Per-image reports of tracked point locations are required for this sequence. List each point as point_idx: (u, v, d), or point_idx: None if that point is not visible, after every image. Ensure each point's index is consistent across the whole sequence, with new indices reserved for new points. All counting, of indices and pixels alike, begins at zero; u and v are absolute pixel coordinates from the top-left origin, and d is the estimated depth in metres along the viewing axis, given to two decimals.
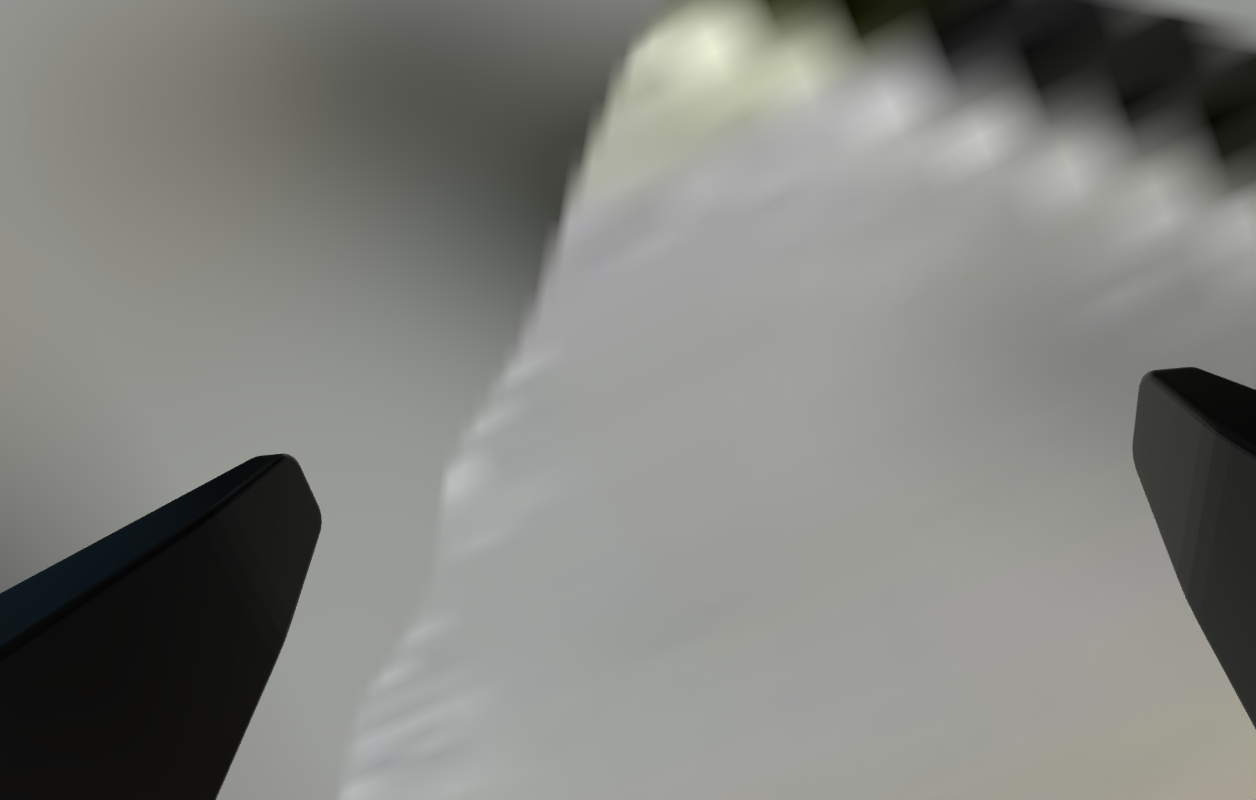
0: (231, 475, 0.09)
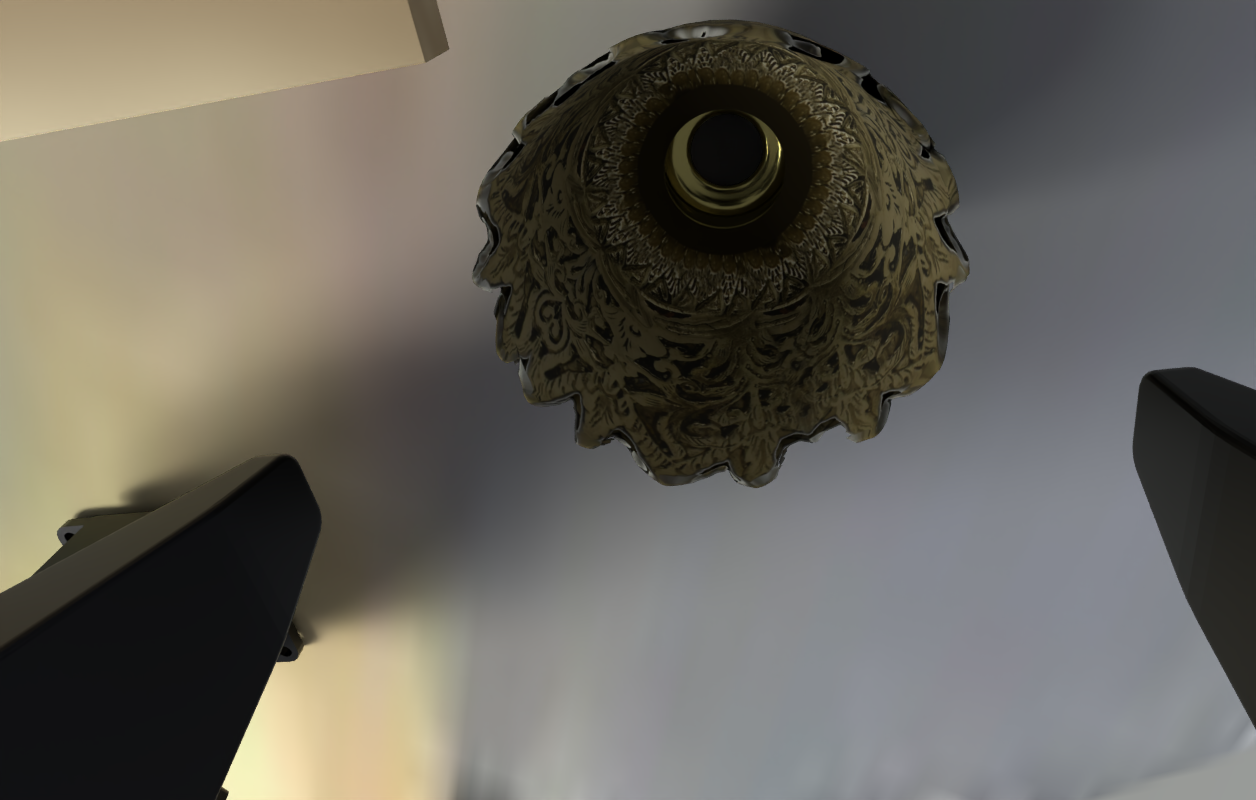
0: (231, 475, 0.09)
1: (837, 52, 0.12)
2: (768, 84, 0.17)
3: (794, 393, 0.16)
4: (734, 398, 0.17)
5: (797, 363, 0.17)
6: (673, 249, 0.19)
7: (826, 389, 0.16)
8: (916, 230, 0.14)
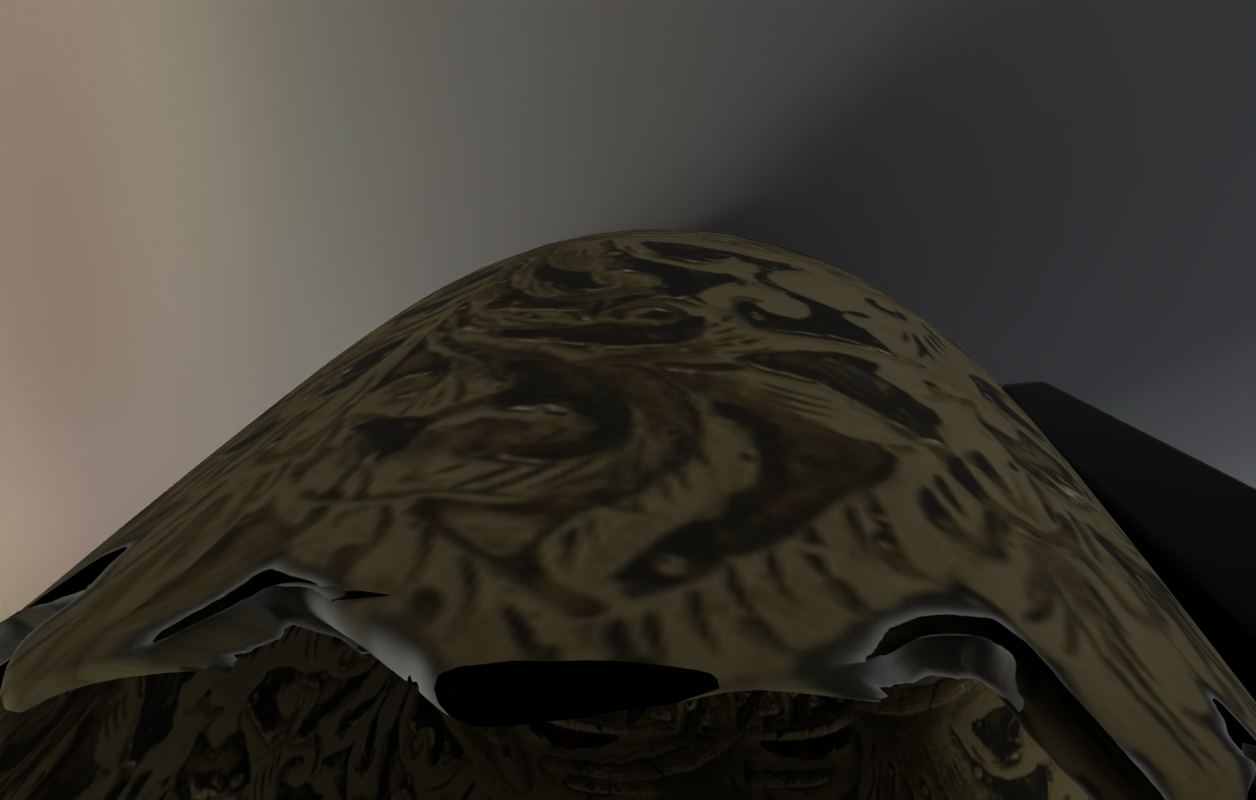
0: None
1: (1104, 694, 0.02)
2: None
3: None
4: None
5: None
6: None
7: None
8: None
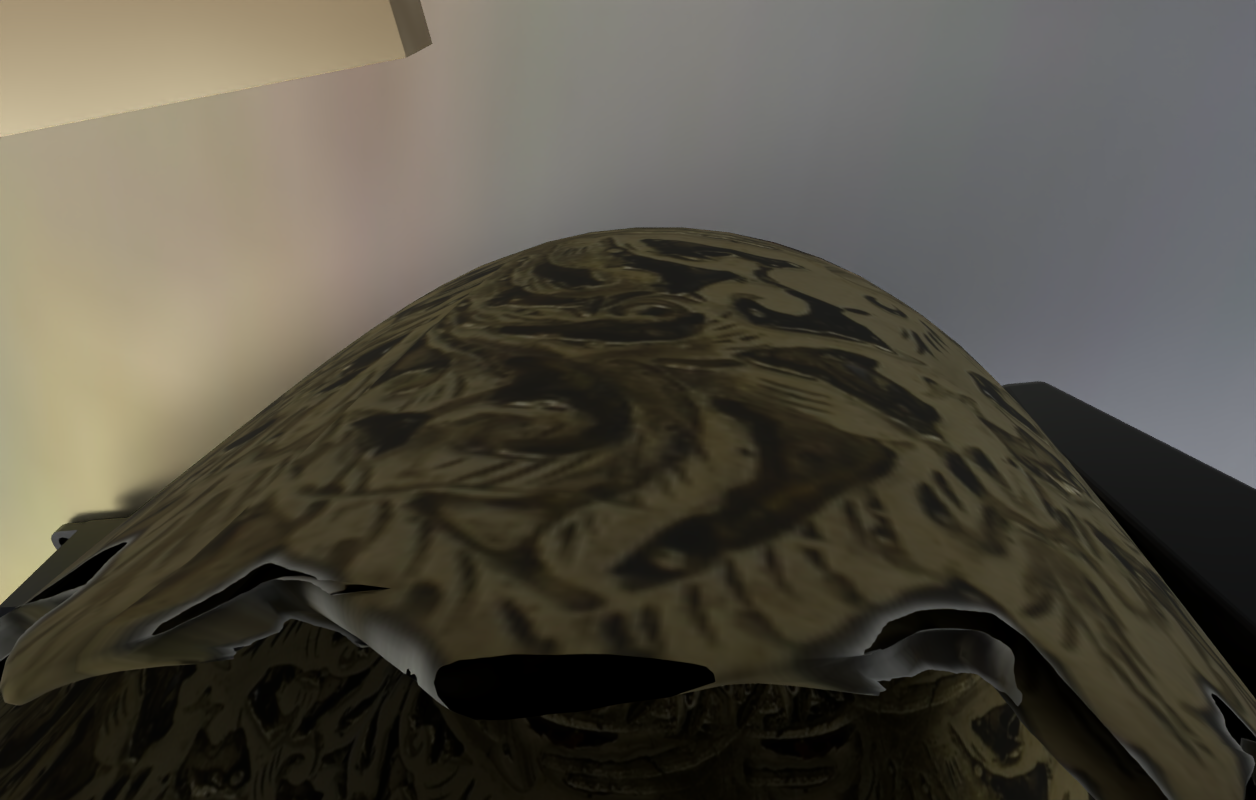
0: None
1: (1103, 687, 0.02)
2: None
3: None
4: None
5: None
6: None
7: None
8: None
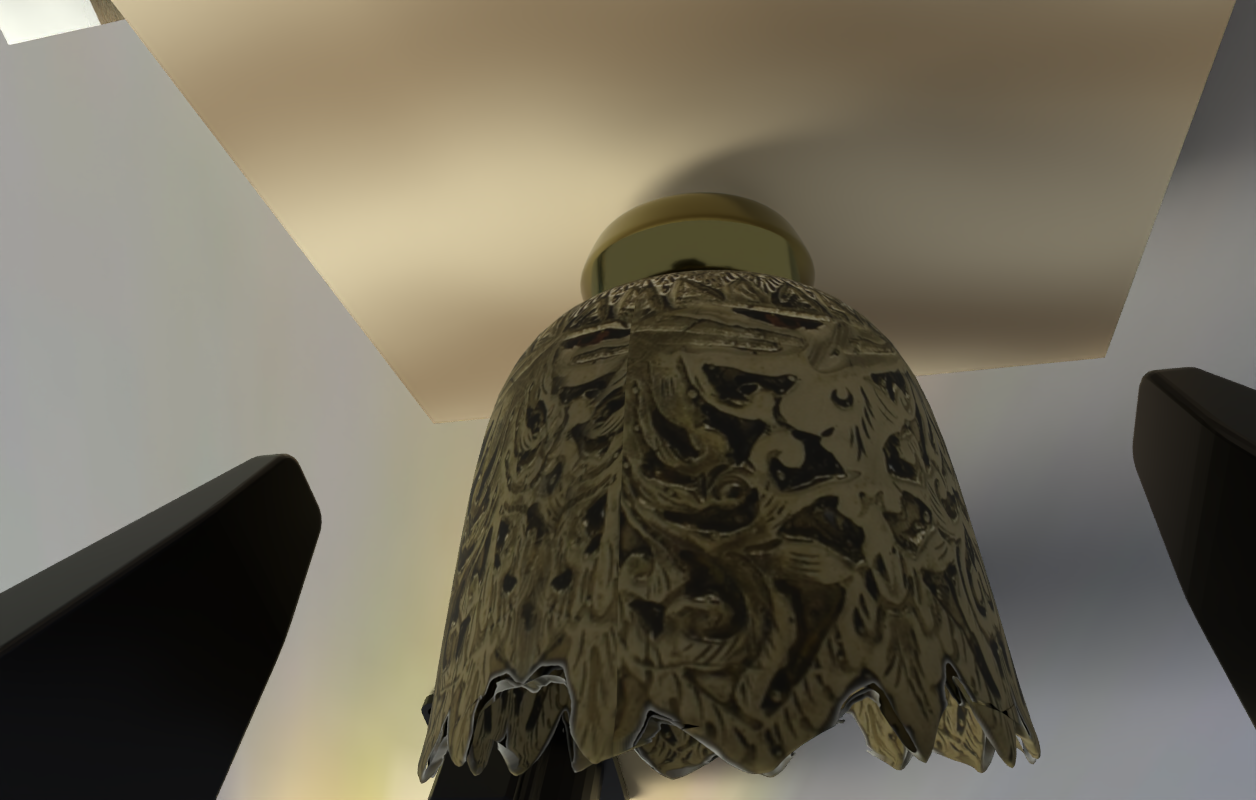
0: (231, 475, 0.09)
1: (903, 701, 0.08)
2: None
3: None
4: None
5: None
6: None
7: None
8: None
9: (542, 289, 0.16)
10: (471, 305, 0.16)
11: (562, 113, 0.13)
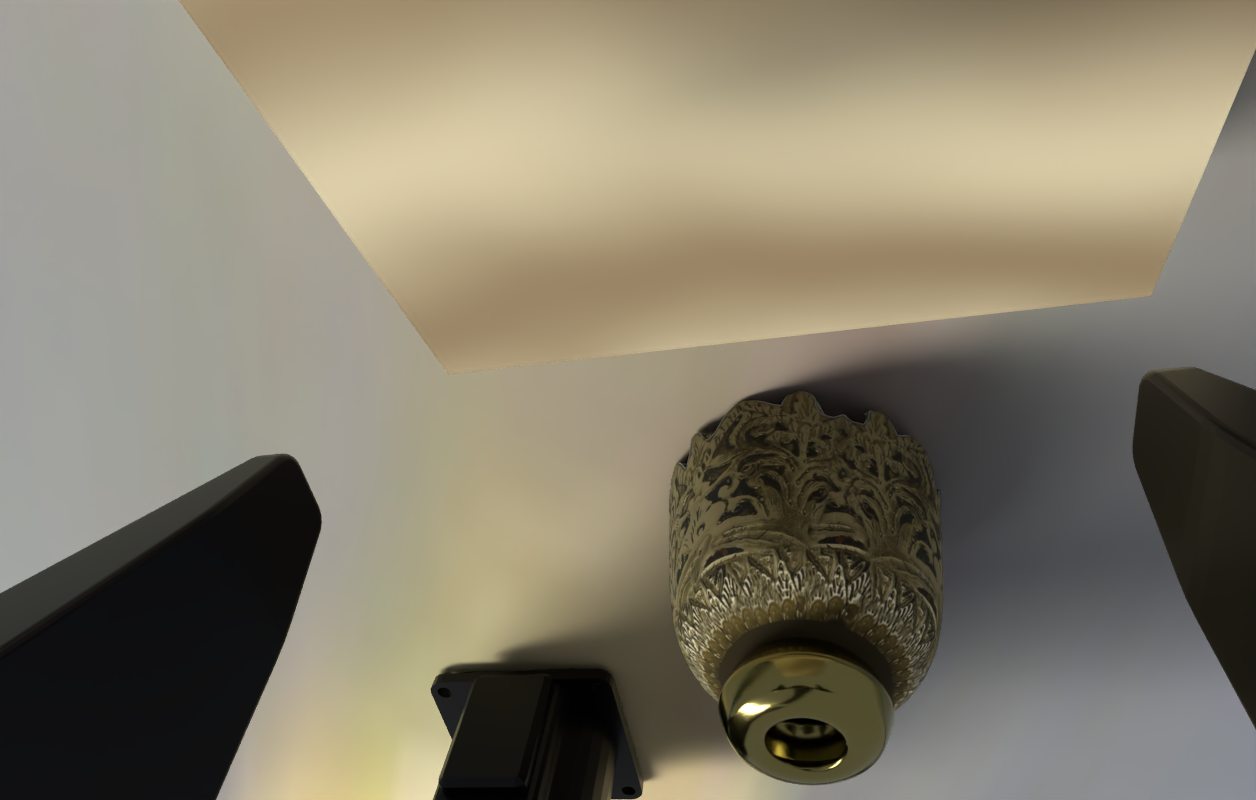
0: (231, 475, 0.09)
1: None
2: None
3: None
4: None
5: None
6: None
7: None
8: None
9: (563, 225, 0.15)
10: (489, 244, 0.15)
11: (589, 25, 0.12)
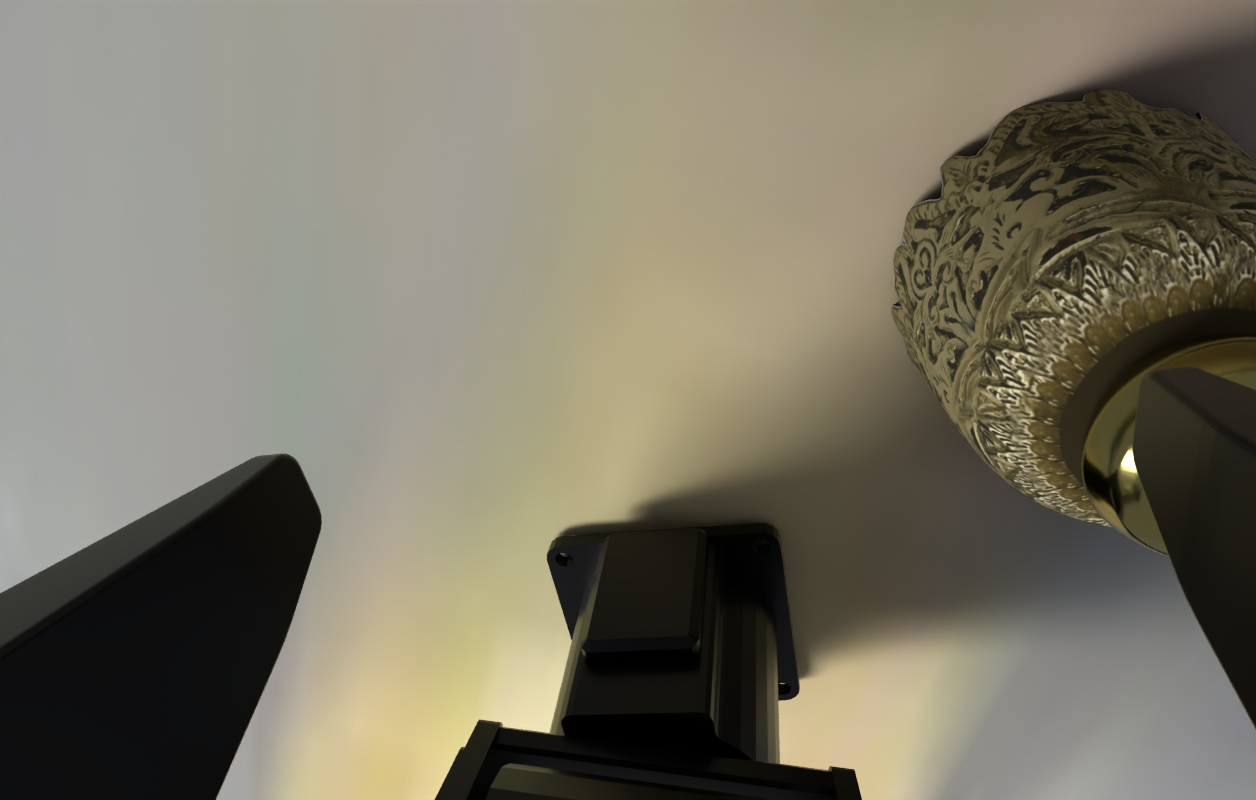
0: (231, 475, 0.09)
1: None
2: None
3: None
4: None
5: None
6: None
7: None
8: None
9: None
10: None
11: None
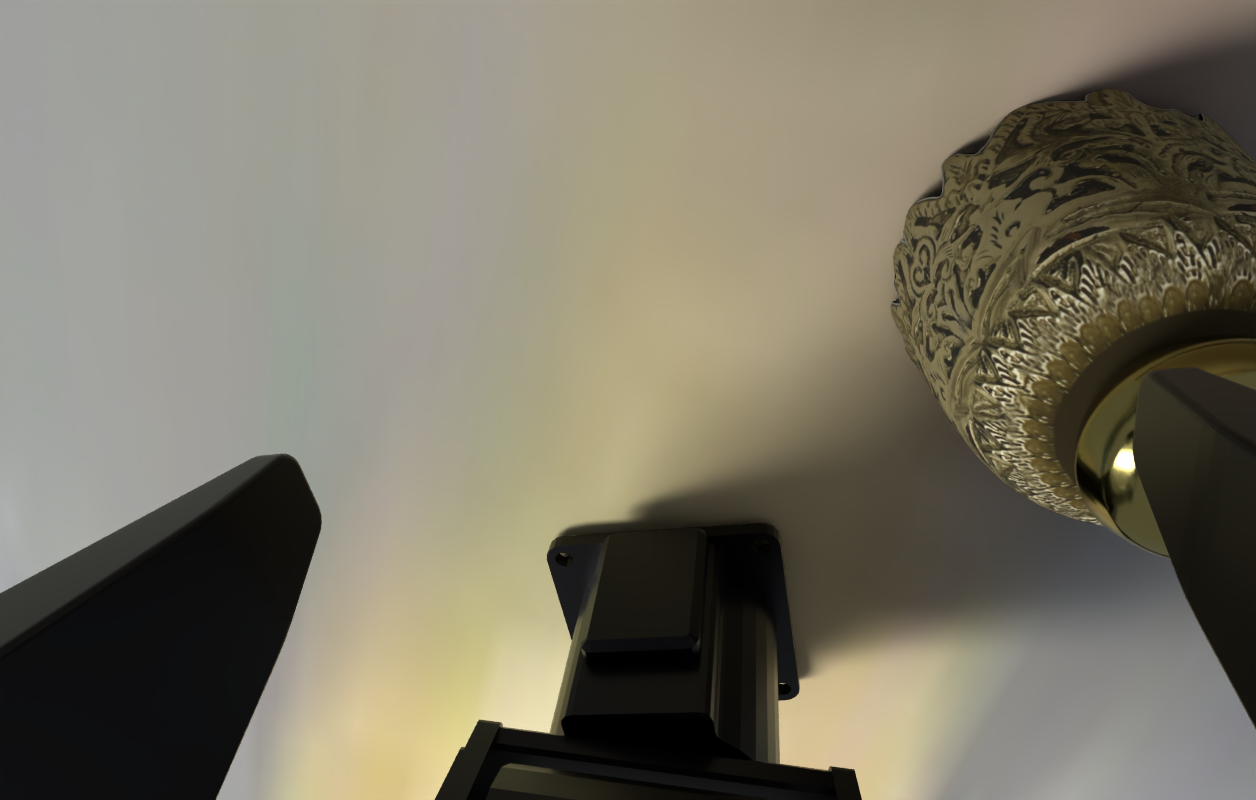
0: (231, 475, 0.09)
1: None
2: None
3: None
4: None
5: None
6: None
7: None
8: None
9: None
10: None
11: None
